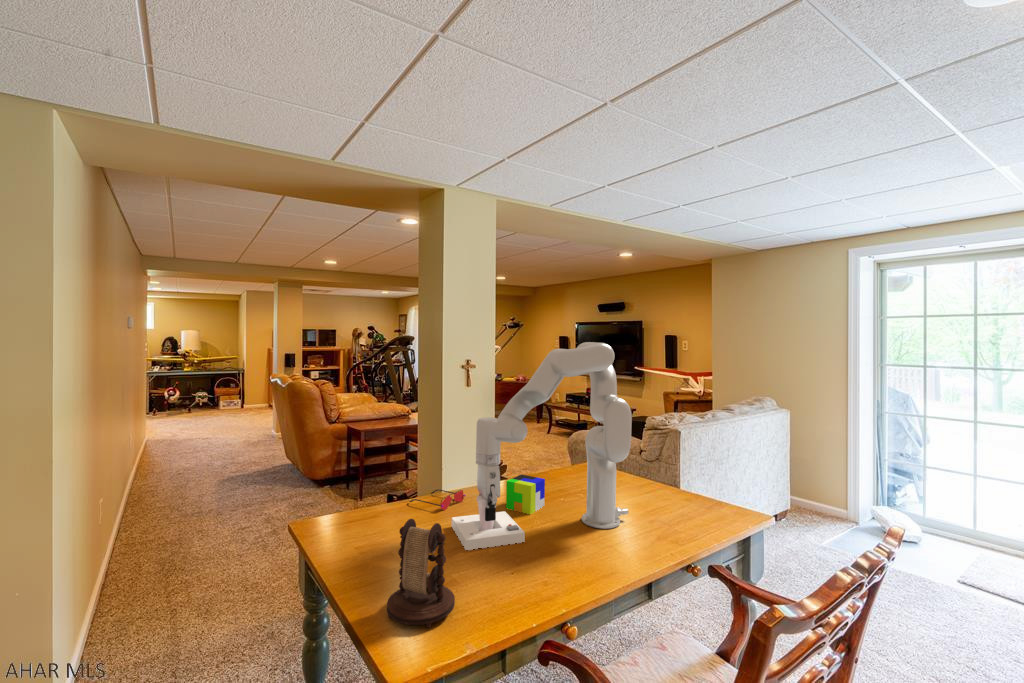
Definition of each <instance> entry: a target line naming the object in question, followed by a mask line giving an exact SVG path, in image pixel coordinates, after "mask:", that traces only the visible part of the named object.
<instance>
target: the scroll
mask: <svg viewBox="0 0 1024 683" xmlns="http://www.w3.org/2000/svg"><path fill="white" fill-rule="evenodd" d="M399 534H400V537H399V538H400V543H399V545H400V548H399V549H398V550H397V551H398V556H399V558H400V562H399V567H400V569H399V570H398V575H399V579H400V582H399V584H398V586H399V587H398V588H399V589H397V590H396V591H394V592H393V593H392V594H390V596H388V599H387V602H386V612H387V615H388V618H389V620H390V619H392V620H393V621H396V622H398V623H400V624H404V625H410V626H411V625H412V626H421V625H425V626H426V628H427V629H431V626H432V623H436V622H438V621H440V620H443V619H444V618H446V617H448V616H449V615H450V614H451V612H452V611H453V610H454V608H455V605H456V602H455V601H456V600H455V599H456V596H455V595H454V594H455V593H454V592H453V591H452V590H451V589H450V588H448V587H446V586H445V585H444V583H445V582H446V579H445V576H444V574H445V570H444V566H445V564H446V561H447V557H446V555H445V547H444V545H445V544H446V543H445V542H446V534H444V533H443V529H442V525H441V524H440V523H438V522H436V523H434V524H433V525H432V527H431V528H430V529H428V528H421V527H417V523H416V521H415V519H414V518H409V519H407V521H406V522H405V523H404V525H403V526H402V527H400V529H399ZM436 550H437V552H436ZM435 552H436V553H437V555H435V554H434V553H435ZM429 561H430V562H432V563H433V562H435V564H436V565H434V566H433V567H432V569H431V570H430V573H429V572H428V568H429V567H428V565H429Z"/></svg>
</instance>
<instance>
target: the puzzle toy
mask: <svg viewBox="0 0 1024 683" xmlns="http://www.w3.org/2000/svg"><path fill="white" fill-rule="evenodd" d="M545 482H546V479H545V478H541V477H537V476H531V475H528V474H527V475H526V474H519V475H517V476H515V477H512V478H509V479H508V480H506V489H505V490H506V493H505V494H506V495H505V496H506V498H505V499H506V500H505V504H506V505H505V508H508V509H507V510H509V509H512V510H511V511H513V510H515V511H514V512H517V511H519V512H518V513H521V512H523V513H522V514H525V513H527V514H526V515H529V514H531V515H532V513H533V514H534V513H536V512H538V511H539V510H541V509H543V508H544V507H545V497H546V496H545V495H546V493H545V490H546V489H545V487H546V485H545V484H546V483H545ZM543 506H544V507H543ZM542 507H543V508H542ZM540 508H541V509H540ZM537 510H538V511H537ZM535 511H536V512H535Z"/></svg>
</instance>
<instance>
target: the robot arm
mask: <svg viewBox="0 0 1024 683" xmlns="http://www.w3.org/2000/svg"><path fill="white" fill-rule="evenodd" d="M615 355H616V354H615V352H614V349H613V348H612V346H610V345H609V344H608V343H605V342H596V341H595V342H594V341H592V342H591V341H588V342H587V341H585V342H582V343H580V344H578V345H577V347H576V348H569V349H567V348H555V349H552V350H551V351H549V352H548V353H547V355H546V356H545V357H544V359H543V361H541V363H540V365H539V366H538V368H537V369H536V371H535V372H534V373H533V375H532V376H531V378H530V379H528V380H529V381H528V382H527V383H526V384H525V385H524V386H523V387H522V388H521V389H519V391H518V392H517V393H515V395H513V396H512V398H510V400H508V402H507V403H506V405H505V406H504V408H503V409H502V411H501V412H500V414H498V416H497V417H490V416H487V417H485V416H484V417H481V418H478V419H477V421H476V433H475V434H476V436H475V437H476V440H475V442H476V444H475V464H476V465H477V475H476V478H477V479H476V488H477V491H478V493H479V494H478V496H479V495H483V497H485V498H486V508H485V521H493V520H495V519H496V512H497V502H498V498H500V497H501V474H500V473H501V472H500V466H499V465H500V464H501V445H502V444H501V442H502V443H503V442H504V443H510V444H511V443H512V444H513V443H514V444H516V443H517V444H518V443H521V442H522V441H524V440H526V438H527V436H528V432H529V431H528V426H527V424H526V423H525V422H524V420H523V419H524V418H525V417H526V416H527V414H528V413H529V412H530V411H531V410H532V409H533V408H535V407H537V406H539V405H542V404H543V403H546V402H547V401H548V400H550V398H551V397H552V395H553V394H554V393H555V391H556V390H557V388H558V387H559V385H560V384H561V383H562V381H564V380H563V379H564V378H565V377H567V378H568V377H569V378H572V377H578V376H584V375H589V380H590V400H589V401H590V403H589V412H590V415H591V418H592V419H593V420H595V421H596V422H598V423H600V424H603V425H595V426H593V427H592V428H590V429H589V430H588V431H587V433H586V436H585V440H584V441H585V442H584V445H585V451H586V462H587V463H586V467H587V468H586V470H587V471H586V510H585V511H586V512H585V513H583V514H582V516H581V521H582V523H583V524H585V525H586V526H589V527H592V528H595V529H601V530H603V529H613V528H614V529H615V528H617V527H619V526H620V524H621V519H620V517H621V516H624V515H629V509H628V508H627V507H625V508H621V507H620V506H616V505H617V504H616V503H617V499H616V498H617V496H616V495H617V493H616V492H617V463H621V462H623V461H624V460H626V458H627V457H628V456H629V454H630V451H631V447H632V446H631V445H632V423H633V421H632V420H633V417H632V414H633V413H632V409H631V408H630V405H629V403H628V402H627V401H626V400H624V399H623V398H622V397H621V398H620V397H618V383H617V374H616V370H615V368H614V366H613V363H614V360H615ZM488 495H491V497H488ZM489 499H491V501H490V502H489Z"/></svg>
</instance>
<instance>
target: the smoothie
mask: <svg viewBox="0 0 1024 683" xmlns="http://www.w3.org/2000/svg"><path fill="white" fill-rule="evenodd" d="M488 497H491V495H488ZM490 501H491V499H489V502H490ZM476 502H477V506H478V514H479V517H480V527H481V530H489V529H494V528H493V522H494V520H493V521H485V508H486V498H485V497H483V495H479V494H478V495H477V496H476ZM481 530H480V531H481Z"/></svg>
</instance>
